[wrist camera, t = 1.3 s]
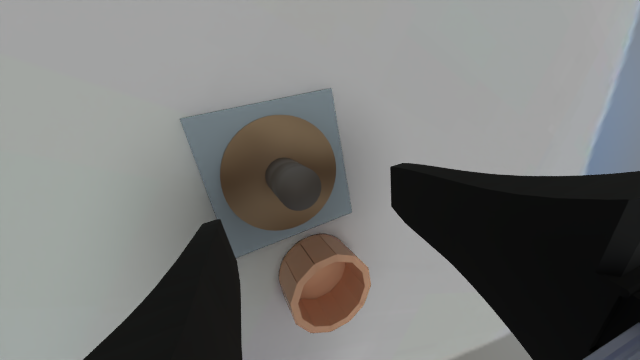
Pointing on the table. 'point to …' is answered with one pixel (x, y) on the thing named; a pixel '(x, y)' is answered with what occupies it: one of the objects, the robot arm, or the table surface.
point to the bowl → (323, 283)
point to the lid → (277, 172)
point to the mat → (221, 126)
